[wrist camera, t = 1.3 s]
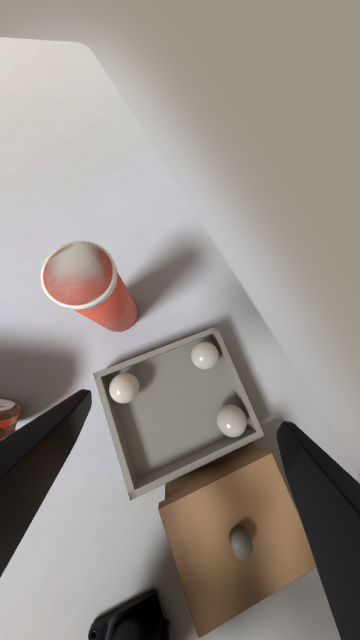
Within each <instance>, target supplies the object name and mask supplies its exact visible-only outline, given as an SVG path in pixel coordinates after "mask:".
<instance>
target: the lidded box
mask: <svg viewBox="0 0 360 640" xmlns="http://www.w3.org/2000/svg"><path fill="white" fill-rule="evenodd" d="M158 510H159V513H160V516H161V519H162V523H163V526H164V529H165V532H166V535H167V539H168V542H169V545H170V548H171V551H172V554H173V558H174V561H175V564H176V567H177V570H178V573H179V577H180V580H181V583H182V586H183V589H184V592H185V596H186V599H187V602H188V605H189V608H190V611H191V615H192V618H193V621H194V624H195V627H196V631H197V634H198V637H199V638H200V637H202V636H203V635H205V634H207V633H208V632H210V631H212V630H213V629H215V628H217V627H218V626H220V625H221V624H223V623H225V622H226V621H228V620H230V619H231V618H233V617H235V616H236V615H238V614H240V613H241V612H243V611H245V610H246V609H248V608H250V607H251V606H253V605H255V604H256V603H258V602H260V601H261V600H263V599H264V598H266V597H268V596H269V595H271V594H273V593H274V592H276V591H278V590H279V589H281V588H283V587H284V586H286V585H288V584H289V583H291V582H293V581H294V580H296V579H298V578H299V577H301V576H302V575H304V574H306V573H307V572H309V571H311V570H312V569H314V568H316V567H317V566H316V564H315V561H314V558H313V555H312V552H311V549H310V546H309V543H308V540H307V537H306V534H305V531H304V528H303V525H302V522H301V520H300V517H299V515H298V513H297V510H296V508H295V506H294V503H293V501H292V499H291V496H290V494H289V492H288V489H287V487H286V485H285V483H284V480H283V478H282V476H281V473H280V471H279V469H278V466H277V464H276V462H275V459H274V457H273V455H272V453H271V452H270V451H269V450H268V449H267V450H265V451H263V452H261V451H260V450H259V449H258V448H257V447H256V446H255V445H254V444H253V443H252V442H250V443H248V444H246V445H244V446H242V447H240V448H238V449H236V450H234V451H232V452H230V453H228V454H225V455H223V456H221V457H219V458H217V459H215V460H213V461H211V462H209V463H207V464H205V465H203V466H201V467H198V468H196V469H194V470H192V471H190V472H188V473H186V474H184V475H182V476H180V477H178V478H176V479H174V480H171V481H169V482H167V483H165V500H163V501H161V502H159V508H158Z"/></svg>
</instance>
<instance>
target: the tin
mask: <svg viewBox="0 0 360 640" xmlns="http://www.w3.org/2000/svg"><path fill="white" fill-rule="evenodd" d="M20 411H21V405H20V404H19V403H18V402H16V401H13V400H8V399H2V398H0V441H1V440H2V439H4V438H5V437H7V436H9V435H10V434H12V433H13V432H15V427H16V424H17V421H18V418H19V415H20Z"/></svg>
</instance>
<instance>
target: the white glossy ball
mask: <svg viewBox="0 0 360 640" xmlns="http://www.w3.org/2000/svg"><path fill="white" fill-rule="evenodd" d="M191 359H192V362H193V363H194V365H195V366H196V367H198V368H200V369H203V370H207V369H211V368H213V367H214V366H215V365H216V364H217V362H218V359H219V353H218V350H217V348H216V347H215V346H214V345H213V344H212V343H210V342H199V343H198V344H196V345H195V346H194V347H193V349H192V351H191Z"/></svg>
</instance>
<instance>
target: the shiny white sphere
mask: <svg viewBox="0 0 360 640" xmlns="http://www.w3.org/2000/svg"><path fill="white" fill-rule="evenodd" d="M216 421H217V425H218V427H219V429H220V431H221V432H222V433H223V434H225V435H226V436H228V437H238V436H240V435H242V434H243V433H244V431H245V429H246V426H247V420H246V416H245V414H244V412H243V411H242V410H241V409H240V408H239V407H238V406H236V405H232V404H227V405H224V406H223V407H221V408H220V409H219V411H218V413H217V417H216Z"/></svg>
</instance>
